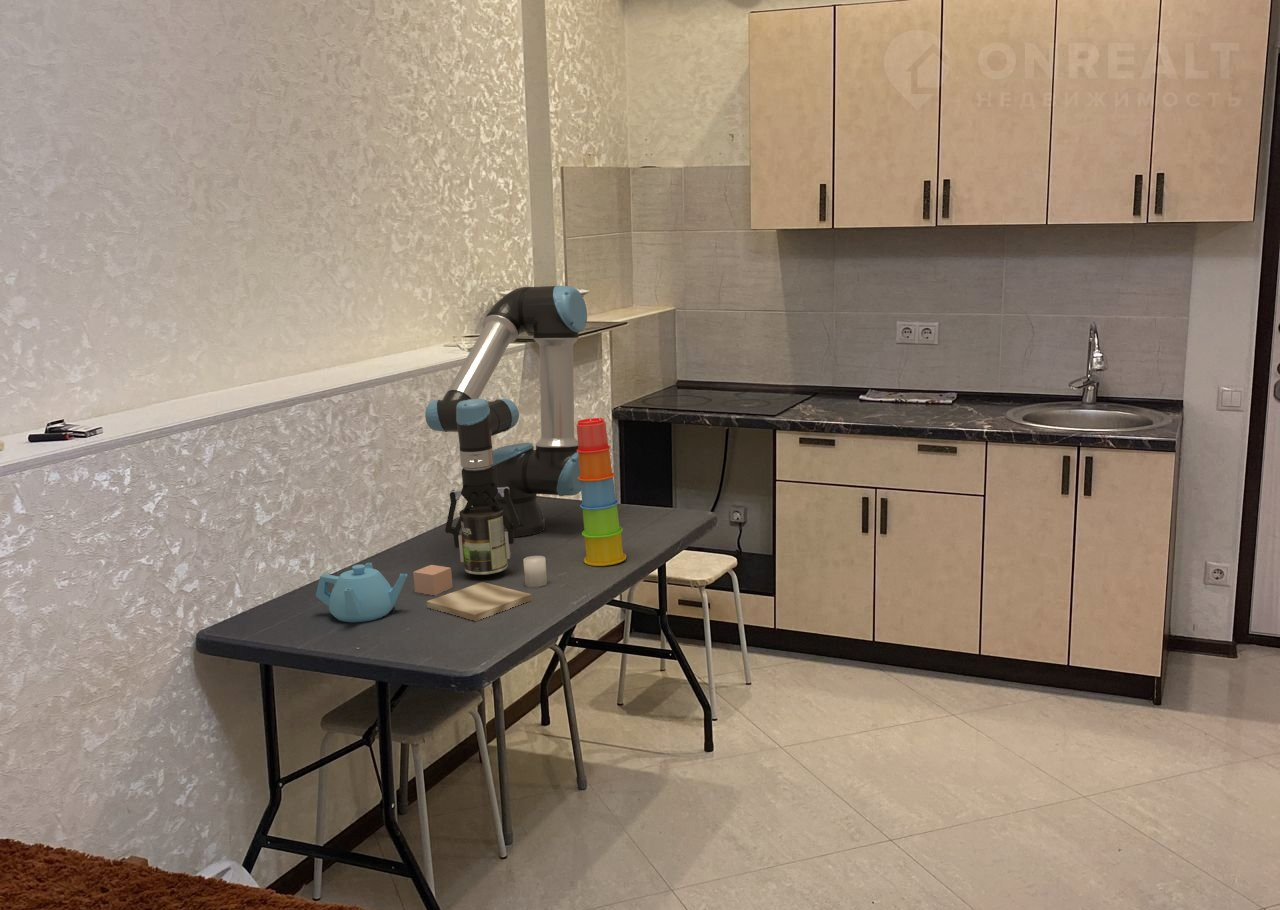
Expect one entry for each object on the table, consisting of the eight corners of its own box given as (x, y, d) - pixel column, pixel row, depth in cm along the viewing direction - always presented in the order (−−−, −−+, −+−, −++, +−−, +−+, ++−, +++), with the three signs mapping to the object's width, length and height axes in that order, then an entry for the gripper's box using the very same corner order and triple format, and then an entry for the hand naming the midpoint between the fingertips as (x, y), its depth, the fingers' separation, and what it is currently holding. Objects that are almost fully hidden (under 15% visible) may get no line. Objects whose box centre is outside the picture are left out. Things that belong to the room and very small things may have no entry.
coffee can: (471, 577, 269) (465, 518, 266) (459, 566, 278) (454, 508, 275) (514, 570, 273) (509, 511, 270) (501, 558, 282) (496, 502, 279)
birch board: (483, 588, 266) (482, 582, 266) (531, 600, 255) (531, 594, 255) (427, 607, 254) (426, 601, 254) (475, 621, 244) (474, 614, 243)
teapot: (376, 597, 264) (371, 551, 262) (413, 611, 253) (408, 563, 251) (314, 615, 253) (309, 567, 251) (350, 630, 243) (345, 580, 241)
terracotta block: (432, 585, 270) (431, 564, 269) (452, 588, 267) (450, 567, 266) (415, 593, 266) (413, 571, 265) (434, 596, 262) (433, 575, 261)
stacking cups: (597, 569, 276) (589, 425, 269) (576, 560, 284) (567, 419, 277) (634, 561, 281) (627, 419, 274) (612, 552, 289) (604, 414, 283)
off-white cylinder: (536, 579, 271) (534, 554, 269) (551, 583, 267) (549, 557, 266) (520, 585, 267) (518, 559, 266) (535, 588, 264) (533, 563, 263)
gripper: (426, 473, 266) (435, 567, 271) (525, 466, 267) (533, 560, 272) (430, 466, 274) (439, 557, 278) (527, 459, 275) (534, 550, 279)
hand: (485, 558), depth 275 cm, fingers closed on coffee can, 10 cm apart
